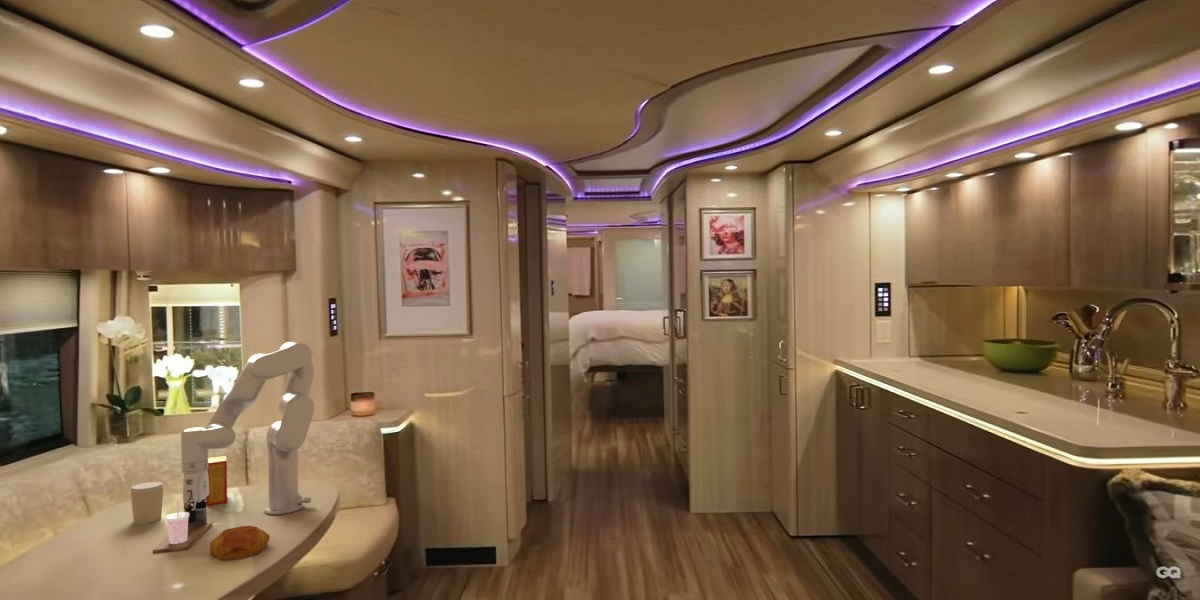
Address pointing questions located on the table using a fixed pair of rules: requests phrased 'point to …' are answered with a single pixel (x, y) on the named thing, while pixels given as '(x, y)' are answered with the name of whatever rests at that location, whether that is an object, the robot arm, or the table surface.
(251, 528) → the croissant
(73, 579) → the table surface
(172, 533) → the beverage cup
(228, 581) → the table surface
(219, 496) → the baking soda box
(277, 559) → the table surface
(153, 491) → the coffee cup
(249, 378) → the robot arm
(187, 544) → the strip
